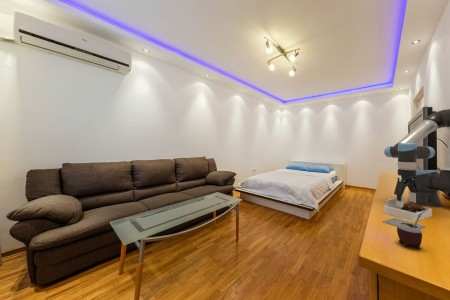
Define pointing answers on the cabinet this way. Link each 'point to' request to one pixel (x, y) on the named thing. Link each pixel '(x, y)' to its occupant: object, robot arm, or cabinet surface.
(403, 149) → the robot arm
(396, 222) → the slate mat
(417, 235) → the mate gourd
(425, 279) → the cabinet surface
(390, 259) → the cabinet surface
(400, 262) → the cabinet surface
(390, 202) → the carton
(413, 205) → the pottery mug
